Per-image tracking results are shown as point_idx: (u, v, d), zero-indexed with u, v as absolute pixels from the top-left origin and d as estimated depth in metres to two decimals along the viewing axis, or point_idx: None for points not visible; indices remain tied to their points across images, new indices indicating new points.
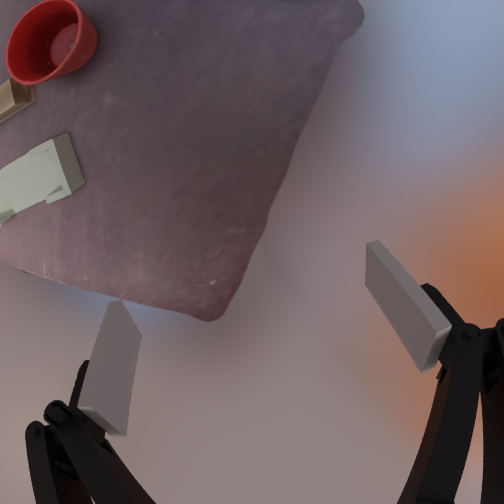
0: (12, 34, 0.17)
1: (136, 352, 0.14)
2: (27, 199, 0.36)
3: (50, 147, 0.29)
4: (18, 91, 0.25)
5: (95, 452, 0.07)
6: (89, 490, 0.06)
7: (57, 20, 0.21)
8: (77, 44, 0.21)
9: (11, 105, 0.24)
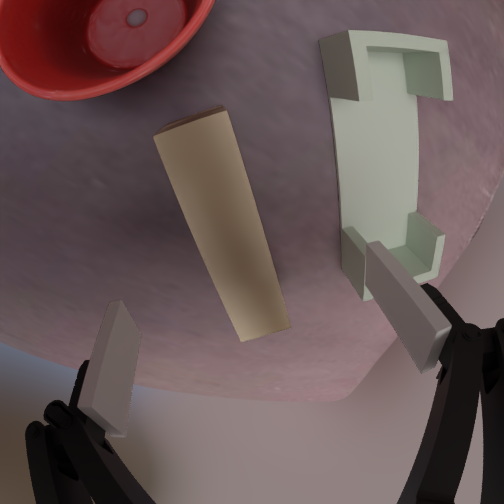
0: (36, 88, 0.08)
1: (136, 352, 0.14)
2: (408, 172, 0.22)
3: (365, 41, 0.13)
4: (191, 119, 0.15)
5: (95, 452, 0.07)
6: (89, 490, 0.06)
7: (63, 41, 0.11)
8: None
9: (226, 122, 0.14)
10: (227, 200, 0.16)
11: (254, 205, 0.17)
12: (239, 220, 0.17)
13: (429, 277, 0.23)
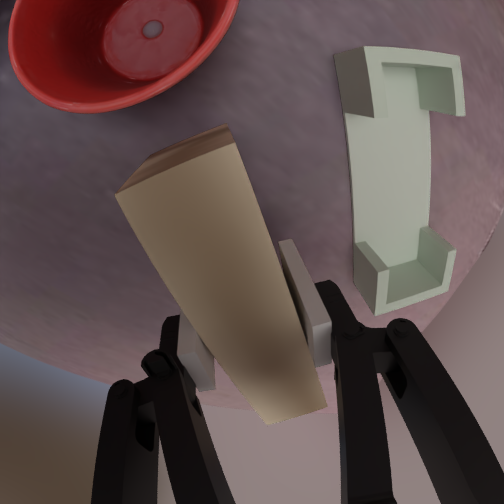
0: (53, 99, 0.09)
1: None
2: (420, 187, 0.22)
3: (380, 57, 0.13)
4: (178, 156, 0.09)
5: (188, 414, 0.08)
6: (165, 451, 0.07)
7: (79, 51, 0.12)
8: None
9: (236, 163, 0.08)
10: (244, 285, 0.11)
11: (285, 288, 0.11)
12: (262, 308, 0.11)
13: (439, 292, 0.23)
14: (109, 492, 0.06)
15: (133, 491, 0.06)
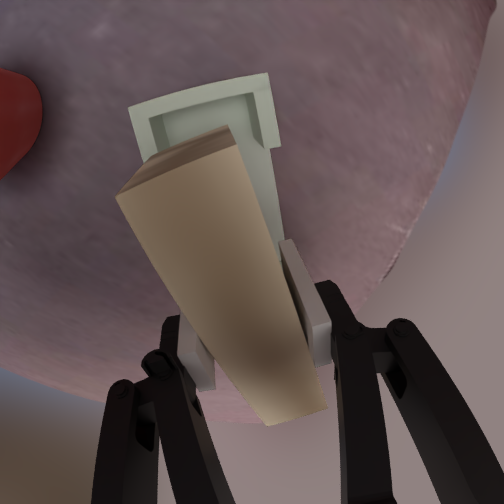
0: None
1: None
2: (266, 221, 0.24)
3: (147, 113, 0.14)
4: (179, 158, 0.09)
5: (188, 414, 0.08)
6: (165, 451, 0.07)
7: None
8: None
9: (237, 165, 0.08)
10: (245, 287, 0.11)
11: (286, 290, 0.11)
12: (264, 311, 0.11)
13: None
14: (109, 492, 0.06)
15: (133, 491, 0.06)
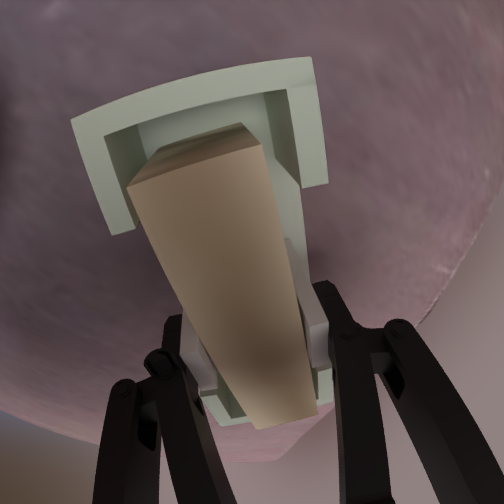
0: None
1: None
2: None
3: (101, 127, 0.08)
4: (195, 152, 0.09)
5: (190, 413, 0.08)
6: (167, 450, 0.07)
7: None
8: None
9: (260, 166, 0.08)
10: (253, 291, 0.10)
11: (294, 296, 0.11)
12: (268, 315, 0.11)
13: (318, 404, 0.18)
14: (110, 492, 0.06)
15: (135, 491, 0.06)
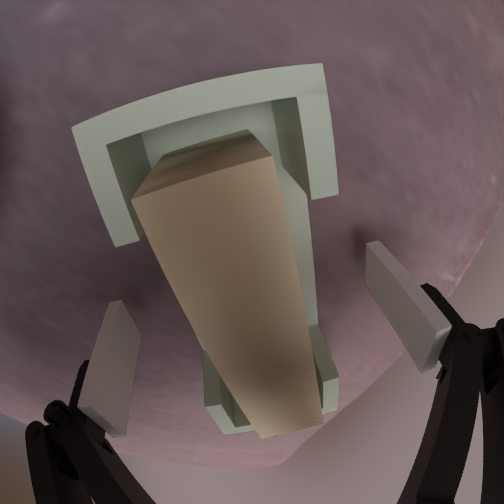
0: None
1: (136, 352, 0.14)
2: None
3: (103, 136, 0.08)
4: (202, 162, 0.09)
5: (95, 452, 0.07)
6: (89, 490, 0.06)
7: None
8: None
9: (271, 178, 0.08)
10: (261, 305, 0.10)
11: (302, 310, 0.10)
12: (276, 329, 0.11)
13: (322, 412, 0.18)
14: None
15: None
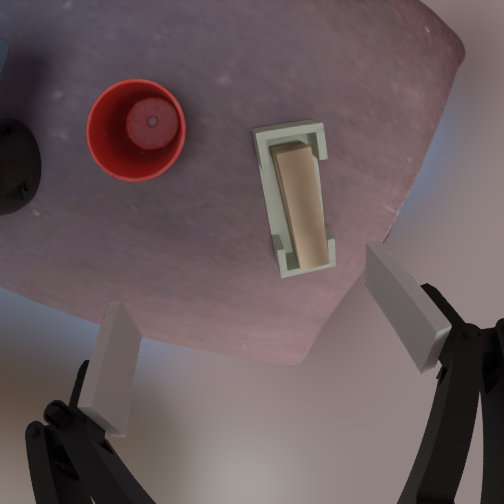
0: (115, 174, 0.28)
1: (136, 352, 0.14)
2: None
3: (265, 137, 0.32)
4: (291, 148, 0.33)
5: (95, 452, 0.07)
6: (89, 490, 0.06)
7: (116, 137, 0.31)
8: (153, 81, 0.24)
9: (310, 152, 0.32)
10: (306, 188, 0.34)
11: (318, 191, 0.34)
12: (310, 198, 0.35)
13: (328, 266, 0.41)
14: None
15: None
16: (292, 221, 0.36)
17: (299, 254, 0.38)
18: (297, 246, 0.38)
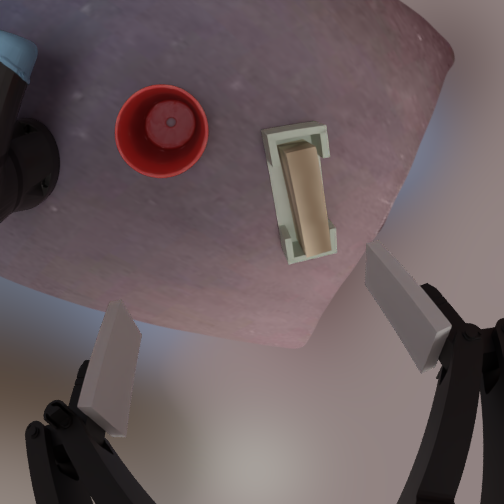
0: (142, 171, 0.31)
1: (136, 352, 0.14)
2: None
3: (275, 138, 0.36)
4: (298, 147, 0.37)
5: (95, 452, 0.07)
6: (89, 490, 0.06)
7: (138, 136, 0.34)
8: (178, 87, 0.28)
9: (315, 151, 0.36)
10: (311, 183, 0.38)
11: (322, 186, 0.38)
12: (315, 192, 0.39)
13: (330, 252, 0.46)
14: None
15: None
16: (299, 212, 0.40)
17: (305, 242, 0.43)
18: (303, 235, 0.42)
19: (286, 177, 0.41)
